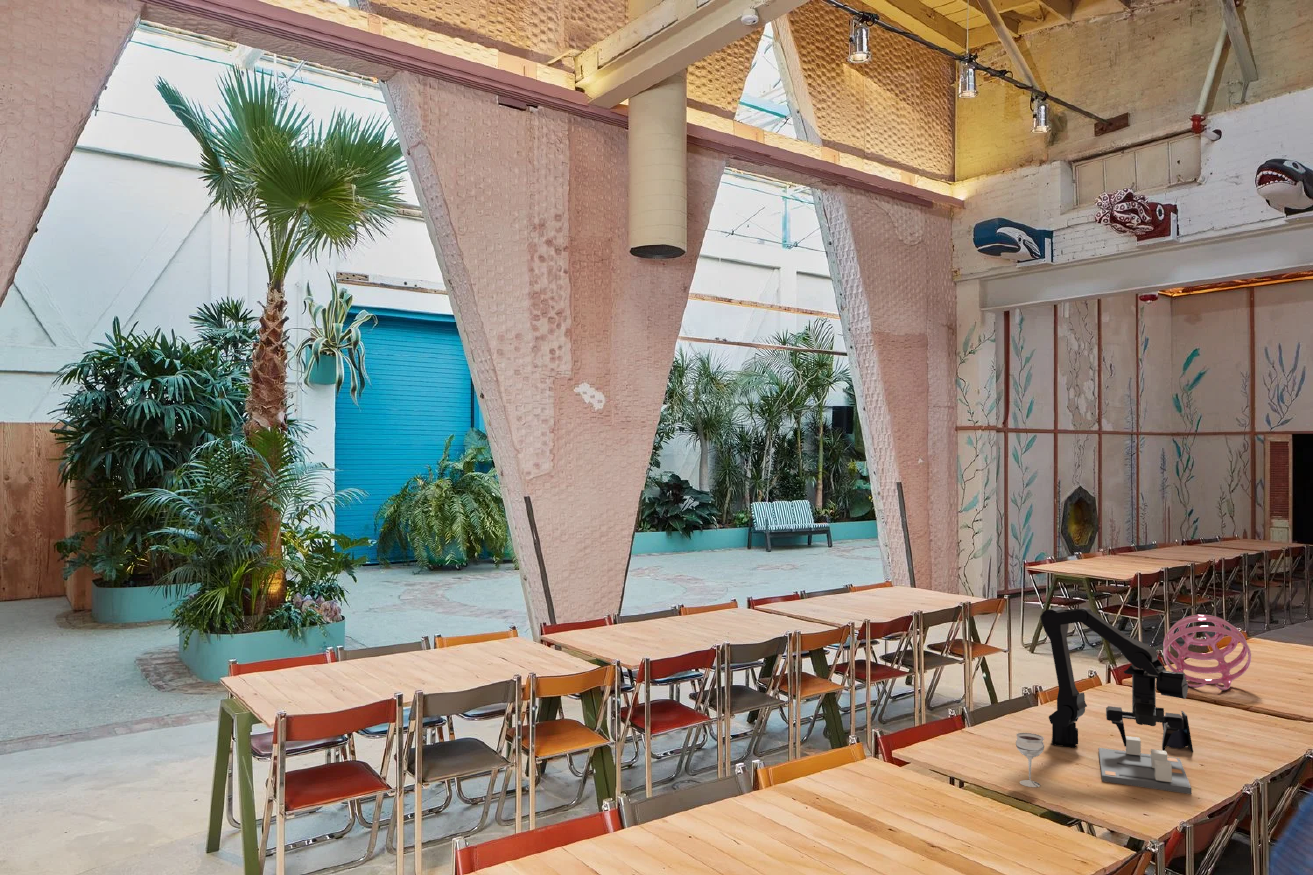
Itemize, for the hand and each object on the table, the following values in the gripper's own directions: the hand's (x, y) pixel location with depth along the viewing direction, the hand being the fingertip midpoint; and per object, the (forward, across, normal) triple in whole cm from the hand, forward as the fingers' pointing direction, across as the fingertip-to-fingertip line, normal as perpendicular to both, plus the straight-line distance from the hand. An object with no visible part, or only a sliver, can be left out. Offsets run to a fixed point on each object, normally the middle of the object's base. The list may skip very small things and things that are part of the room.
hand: (1144, 748), depth 246 cm
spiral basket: (+4, +28, +108) cm, 112 cm away
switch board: (+4, -1, -10) cm, 11 cm away
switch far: (+2, -3, 0) cm, 3 cm away
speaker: (+4, +10, +19) cm, 22 cm away
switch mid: (+2, +3, -10) cm, 10 cm away
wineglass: (+4, -28, -33) cm, 44 cm away
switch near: (+2, +3, -20) cm, 20 cm away
